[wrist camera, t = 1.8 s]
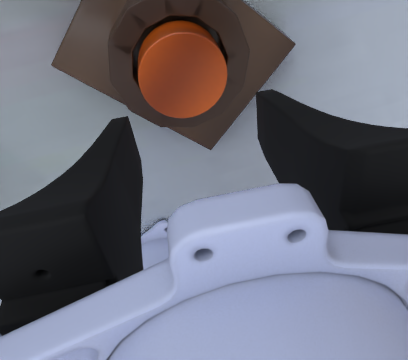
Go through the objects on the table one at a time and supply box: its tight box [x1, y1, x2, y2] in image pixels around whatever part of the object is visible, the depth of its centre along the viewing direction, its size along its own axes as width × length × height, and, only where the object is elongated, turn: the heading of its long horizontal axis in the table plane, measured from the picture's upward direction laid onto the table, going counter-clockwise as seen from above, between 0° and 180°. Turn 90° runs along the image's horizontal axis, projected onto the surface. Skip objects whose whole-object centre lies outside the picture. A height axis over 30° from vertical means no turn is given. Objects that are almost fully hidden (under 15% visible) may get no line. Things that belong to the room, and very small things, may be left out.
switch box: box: [51, 0, 295, 150], centre depth 20 cm, size 11×8×4 cm
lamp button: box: [138, 20, 227, 118], centre depth 18 cm, size 4×4×2 cm
